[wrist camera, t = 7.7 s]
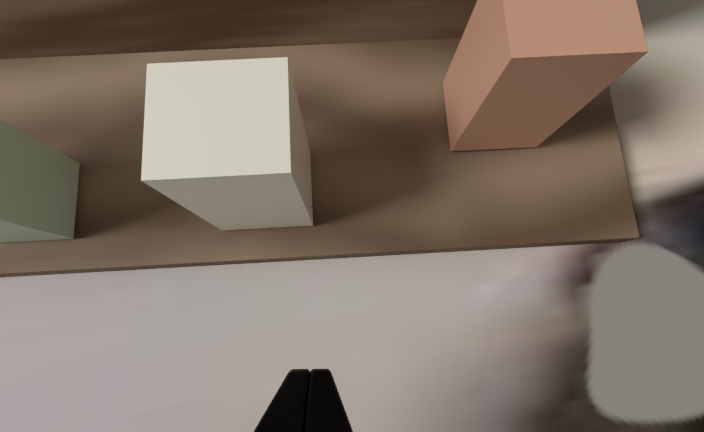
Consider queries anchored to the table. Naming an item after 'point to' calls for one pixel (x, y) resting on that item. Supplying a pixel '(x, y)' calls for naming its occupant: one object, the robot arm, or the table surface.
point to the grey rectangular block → (228, 142)
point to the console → (321, 129)
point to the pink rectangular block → (535, 67)
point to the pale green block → (35, 189)
